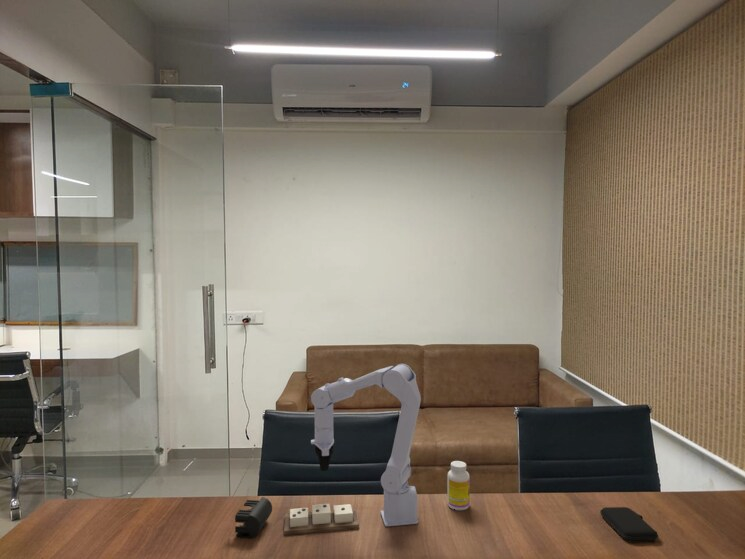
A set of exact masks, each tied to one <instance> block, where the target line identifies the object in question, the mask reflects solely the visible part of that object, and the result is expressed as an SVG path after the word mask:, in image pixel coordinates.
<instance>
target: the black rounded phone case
mask: <svg viewBox="0 0 745 559" xmlns="http://www.w3.org/2000/svg"><path fill="white" fill-rule="evenodd" d="M599 515H600V516H601V517H602V518H603V519H604V521H605V522H607V523H608V525H609V526H610V525H611V526H612V527H613V528H614V529H615V530H614V529H613V528H612V527H611V526H610V527H611V528H612V529H613V530H614V531H615V532H616V533H617V534H618V535H619V537H621V539H623V540H624V541H625V542H627V541H628V543H654V542H656V541H657V540H659V534H658V532H657V531H656V530H655V529H654V528H653V527H651V525H649V523H647V522H646V521H645V520H644V518H643V516H642V515H641V514H639V513H637V512H636V511H634V510H632V509H631V508H630V507H626V506H621V507H620V506H614V507H612V506H611V507H609V506H608V507H604V508H602V509H600V514H599Z"/></svg>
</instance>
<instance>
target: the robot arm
mask: <svg viewBox="0 0 745 559" xmlns="http://www.w3.org/2000/svg"><path fill="white" fill-rule="evenodd" d="M417 383H418V382H417V375H416V373H415V372H414V371H413V369H412V368H411V367H410V366H409V365H407V364H406V363H399V364H395V366H394V365H389V366H387V367H384V368H380V369H376V370H375V371H372V372H369V373H368V374H365V375H363V376H360V377H357V378H354V379H351V378H349V377H345V378H344V377H343V376H342V377H340V378H338V379H337V381H335V382H332V383H331V382H330V383H329V382H328V383H325V384H324V385H322V386H321V387H319V388H316V389H315V390H314V391H313V392H312V393H311V396H310V400H311V404H312V405H313V406H314V438H313V439H311V440H310V444H311V445H314V451H315V454H316V455H317V459H318V462H319V468H320V471H321V472H327V471H328V470H329V467H330V461H331V459H332V458H331V457H332V455H333V453H334V450H335V449H334V444H335V439H334V403H337V402H340V401H343V400H345V399H348V398H349V399H350V398H352V397H354V395H355V393H356V391H359V390H362V389H366V388H368V387H372V386H374V385H376V386H378V387H379V388H382V389H383V388H384V389H386V391H388V392H389V393H390V394H391V395H393V396H394V397H396V399H397V400H398V401H399V402H400V403H401V407H400V412H399V416H398V421H397V426H396V431H395V436H394V441H393V445H392V450H391V455H390V458H389V460H388V462H387V465H386V468H385V471H384V472H383V473H382V475H381V477H380V485H381V486H382V488H383V509H382V510H380V514H381V518H382V521H383V524H384V526H385V527H395V526H397V527H398V526H406V525H408V526H409V525H417V524H419V521H418V493H417V490H416V486H414V485H409V482H408V479H410V477H411V475H412V468H411V461H412V460H411V458H410V455H411V449H412V444H413V440H414V435H415V434H414V433H415V430H416V425H417V421H418V415H419V411H420V406H421V403H422V402H421V401H422V396H421V392H420V390H419V387H418V386H419V385H418V384H417Z"/></svg>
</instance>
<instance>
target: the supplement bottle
mask: <svg viewBox="0 0 745 559" xmlns="http://www.w3.org/2000/svg"><path fill="white" fill-rule="evenodd" d="M446 477H447V484H446V486H447V488H446V490H447V494H446V495H447V497H446V498H447V500H446V502H447V505H448V508H451V509H452V510H454V509H455V511H465V510H467V509H468V508H469V507H470V501H471V499H470V498H471V496H470V494H471V493H470V490H471V487H470V485H471V484H470V479H471V478H470V473H469V472H468V471H467V463H466V462H464V461H462V460H461V461H460V460H453V461H451V462H450V470H449V471H448V472H447V476H446Z"/></svg>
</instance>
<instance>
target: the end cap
mask: <svg viewBox="0 0 745 559" xmlns="http://www.w3.org/2000/svg"><path fill="white" fill-rule="evenodd" d="M243 507H250V508H248V509H239V510H238V511H237V512H236V514H235V516H234V517H235V518H234V522H235V523H238V524H239V523H241V524H242V523H243V525H237V526H236V525H235V527H234V532H235V533H236V534H235V537H236V538H237V539H245V540H246V539H248V540H250V539H253V538H255V537H256V536H257V535H258V534H259V533H260V531H261V530H262V528H263V527H264V525H265V524H266V522H267V521H268V519H269V517H270V516H271V515H272V513H273V505H272V503H271V501H270V500H269V499H268V498H266V497H263V496H262V497H261V498H260V499H259V500H256V499H246V502H244V504H243Z"/></svg>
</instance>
